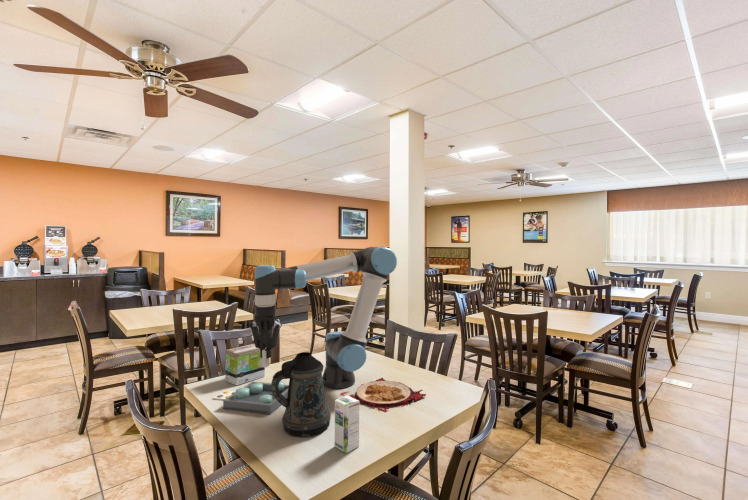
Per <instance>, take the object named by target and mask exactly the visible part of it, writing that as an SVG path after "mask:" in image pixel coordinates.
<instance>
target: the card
mask: <svg viewBox="0 0 748 500" xmlns="http://www.w3.org/2000/svg"><path fill="white" fill-rule="evenodd" d="M235 392H236V390H228V389H226V390H223V391H222V392H220V393H218V394H217V395H215V396H213V397H212V400H217V401H218V400H219V401H223V400H225V399H226V398H228V397H229V396H231V395H232V394H234V393H235Z"/></svg>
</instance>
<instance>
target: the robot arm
mask: <svg viewBox="0 0 748 500" xmlns="http://www.w3.org/2000/svg"><path fill="white" fill-rule="evenodd" d="M397 264H398V258H397V256H396V254H395V251H393V250H392V249H391V248H388V247H385V246H383V245H382V246H369V247H366V248H363V249H360V250H355V251H352V252H349V254H348V255H343V256H338V257H333V258H328V259H323V260H318V261H313V262H308V263H304V264H303V263H302V264H299V265H294V266H289V267H286V266H285V267H284V266H283V267H281V268H279V269H276V266H275V265H274V264H273V265H272V264H269V265H268V264H267V265H266V264H265V265H263V264H262V265H256V266H255V270H254V305H255V306H254V315H255V318H254V321H251V322H250V323H249V327H250V329H251V333H252V339H253V342H254V344H255V347H256V348H259V349H260V357H261V358H262V367H265V369H266V368H268V367H269V366H270V359H271V358H272V349H274V348H276V347H277V342H278V338H279V334H280V331H281V328H282V326H283V324H282V323H281V322H278V321H277V318H276V290H283V289H284V290H287V289H289V290H291V289H297V290H298V289H303V288H305V287H306V285H307V282H308V281H313V280H318V279H321V278H326V277H331V276H332V277H333V276H336V275H340V274H346V273H349V272H350V273H351V272H352V273H354V274H355V273H359V272H360V273H361V274H362V275H363V278H362V282H361V285H360V288H359V291H358V294H357V296H356V300H355V303H354V306H353V309H352V311H351V315H350V318H349V321H348V324H347V327H346V330H345V331H344V330H343V331H332V332H331V331H330V332H327V334H326V335H325V341H324V342H325V367H324V369H323V372H322V379H323V385H324V388H329V389H345V388H349V387H351V386H353V385H354V384H355V382H356V376H355V373H354V372H356V371H358V370H360V369H361V368H362V367H363V366H364V365H365V364H366V360H367V351H366V350H365V349H366V347H367V343H368V339H366V336H367V332H368V329H369V326H370V323H371V320H372V316H373V313H374V311H375V308H376V305H377V301H378V299H379V294H380V292H381V289H382V286H383V284H384V283H386V282H387V281H388V279H389V277H390V274H391V273H393V272H394V271H395V270H396V267H397Z"/></svg>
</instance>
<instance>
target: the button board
mask: <svg viewBox="0 0 748 500" xmlns="http://www.w3.org/2000/svg"><path fill="white" fill-rule="evenodd" d="M255 383H261V384H263V391H262V392H261V393H257V394H252V393H250V386H251V385H252V384H255ZM288 387H289V384H284V390H282V391H280V392H281V394H282V395H283V396H284V397H285V398H287V395H288ZM242 388H249V397H247V398H244V399H237V398H236V392H235V393H234V394H232V395H231V396H229V397H228V398H226V399H225V400H222V402H223V403H222V407H223V410H227V411H228V410H229V411H237V412H238V411H240V412H247V413H256V414H263V415H272V414H273V413H275V411H276V410H278V408H280V407H281V406H282V405H281V404H280V403H279V402H278V401H277V400H276V398H275V397H274V395H273V393H272V390H271V382H262V381H250V383H248V384H246V385H245V386H243V387H242ZM262 395H272V402H270V403H260V402H259V397H260V396H262Z"/></svg>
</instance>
